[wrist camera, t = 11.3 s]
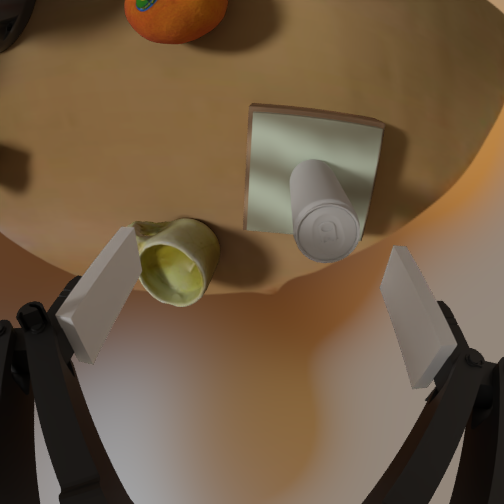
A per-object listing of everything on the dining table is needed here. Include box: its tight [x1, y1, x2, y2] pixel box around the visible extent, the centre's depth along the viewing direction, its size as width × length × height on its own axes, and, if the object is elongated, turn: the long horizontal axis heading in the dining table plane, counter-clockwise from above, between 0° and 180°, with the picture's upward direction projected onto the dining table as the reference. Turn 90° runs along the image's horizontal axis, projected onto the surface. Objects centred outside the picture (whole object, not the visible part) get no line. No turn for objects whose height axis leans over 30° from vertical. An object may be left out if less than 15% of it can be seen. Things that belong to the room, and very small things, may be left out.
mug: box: [127, 218, 220, 307], centre depth 39 cm, size 12×10×10 cm
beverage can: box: [290, 159, 360, 263], centre depth 26 cm, size 5×5×12 cm
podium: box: [243, 103, 385, 241], centre depth 33 cm, size 14×14×5 cm
